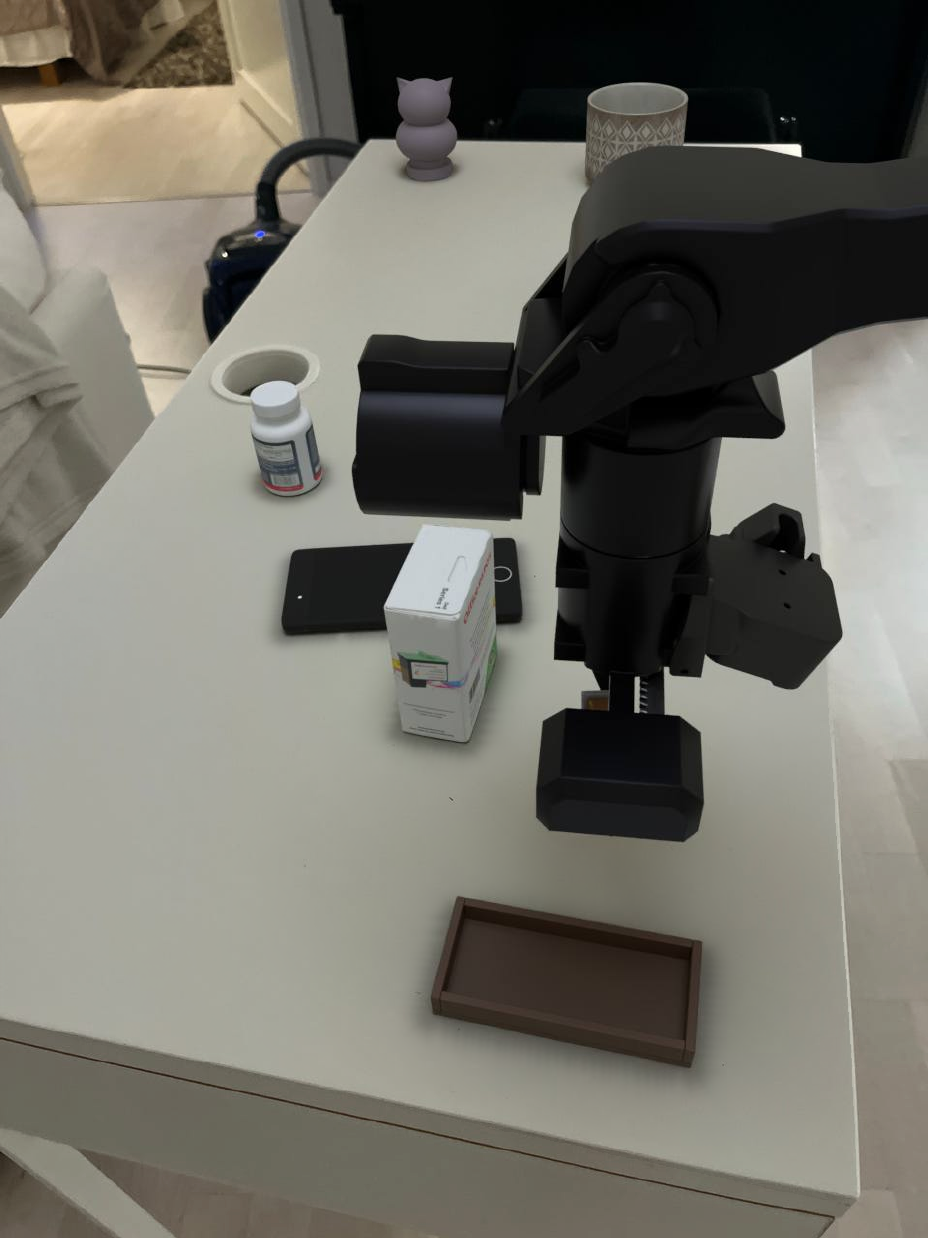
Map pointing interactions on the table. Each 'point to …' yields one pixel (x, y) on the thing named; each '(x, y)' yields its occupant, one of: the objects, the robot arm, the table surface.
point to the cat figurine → (426, 128)
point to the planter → (631, 121)
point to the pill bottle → (284, 439)
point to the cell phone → (371, 585)
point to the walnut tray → (571, 980)
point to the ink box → (443, 630)
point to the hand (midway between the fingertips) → (611, 759)
